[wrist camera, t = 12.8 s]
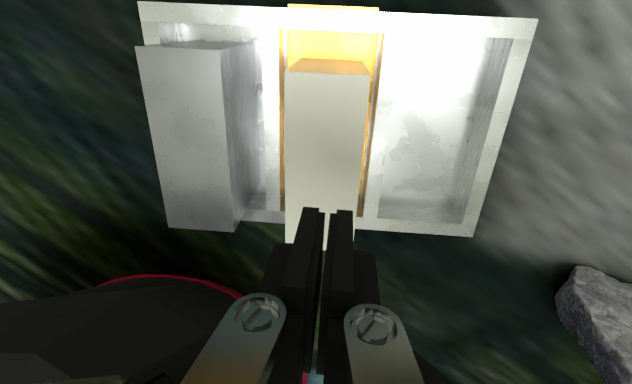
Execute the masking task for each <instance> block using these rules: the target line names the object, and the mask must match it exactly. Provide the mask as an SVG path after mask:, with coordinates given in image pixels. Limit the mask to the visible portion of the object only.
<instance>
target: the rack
mask: <svg viewBox="0 0 632 384" xmlns="http://www.w3.org/2000/svg"><path fill="white" fill-rule="evenodd" d="M137 3H138V9H139V15H140V20H141V26H142V32H143V38H144V43H145V45H141V46H135V51H136V56H137V61H138V67H139V72H140V78H141V83H142V88H143V94H144V99H145V104H146V110H147V115H148V120H149V126H150V131H151V136H152V142H153V147H154V153H155V158H156V163H157V169H158V174H159V179H160V185H161V190H162V195H163V201H164V206H165V212H166V217H167V222H168V227H170V228H183V229H197V230H210V231H224V232H235V230H236V228H237V226H238V224H239V222H240V220H243V221H256V222H270V223H284V224H285V86H284V71H285V70H287V69H288V68H289V67H290V66H292V65H293V64H294V63H295V62H297V61H298V60H299V59H300V58H310V59H332V60H354V61H363V63H364V64H365V66H366V68H367V69H368V71H369V73H370V75H371V80H370V89H369V99H368V108H367V118H366V127H365V137H364V146H363V156H362V165H361V175H360V184H359V194H358V203H357V213H356V222H355V229H367V230H381V231H394V232H408V233H422V234H436V235H450V236H463V237H473V234H474V231H475V228H476V224H477V221H478V218H479V215H480V211H481V208H482V205H483V201H484V198H485V195H486V191H487V188H488V185H489V182H490V178H491V175H492V172H493V168H494V165H495V162H496V158H497V155H498V152H499V149H500V145H501V142H502V139H503V135H504V132H505V129H506V125H507V122H508V119H509V116H510V112H511V109H512V106H513V102H514V99H515V96H516V92H517V89H518V86H519V83H520V79H521V76H522V73H523V69H524V66H525V63H526V59H527V56H528V53H529V50H530V46H531V43H532V40H533V36H534V33H535V30H536V26H537V23H538V20H539V19H532V18H509V17H486V16H463V15H441V14H418V13H395V12H378V10H379V8H373V7H350V6H327V5H304V4H288V8H282V7H259V6H236V5H214V4H191V3H168V2H146V1H137Z"/></svg>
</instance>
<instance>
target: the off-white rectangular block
mask: <svg viewBox="0 0 632 384" xmlns="http://www.w3.org/2000/svg"><path fill="white" fill-rule="evenodd" d="M370 80H371V75H370V73H369V71H368V69H367V68H366V66H365V64H364V63H363V61H354V60H332V59H310V58H300V59H299V60H298V61H297V62H295V63H294V64H293V65H292V66H290V67H289V68H288V69H287V70H285V71H284V86H285V243H293V242H294V239H295V235H296V231H297V228H298V224H299V220H300V217H301V213H302V209H303V207H314V208H319V212H324V213H325V225H324V241H323V250H326V247H327V237H328V228H329V219H330V213H336V214H337V209H339V210H351V211H353V241H354V232H355V222H356V213H357V203H358V194H359V184H360V175H361V165H362V156H363V146H364V137H365V127H366V118H367V108H368V99H369V89H370Z"/></svg>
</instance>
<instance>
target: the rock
mask: <svg viewBox="0 0 632 384" xmlns="http://www.w3.org/2000/svg"><path fill="white" fill-rule="evenodd" d="M555 303H556V308H557V312H558V314H559V316H560V321H561V322H560V324H561V325H562V326H563V327H564V328H565V329H566V330H567V331H568V332H570V333H571V334H572V335H574V336H575V337H576V338H577V340H578V343H579V345H580V347H581V348H582V349H583V350H584V351H585V353H586V355H587V356H588V357H589V358H590V360H591V363H592V364H594V365H595V367H596V369H597V370H598V372H599V373H600V375H601V377H602V378H603V380H604V381H605V383H606V384H632V284H628V283H621V282H619V281H618V280H617V279H615V278H612V277H608V276H607V275H605V274H604V273H603V272H601V271H599V270H596V269H593V268H591V267H588V266H575V267H574V269H573V270H572V271H571V274H570V276H569V279H568V281H567V282H566V283H565V284H564V285H563V286H562V287H561V288H560V289H559V291H558V292H557V294H556V295H555Z"/></svg>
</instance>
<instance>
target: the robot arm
mask: <svg viewBox="0 0 632 384" xmlns="http://www.w3.org/2000/svg"><path fill="white" fill-rule="evenodd" d="M324 225H325V213H324V212H319V208H314V207H303V209H302V213H301V217H300V220H299V224H298V228H297V231H296V235H295V239H294V242H293V243H282V242H276V243H275V246H274V248H273V251H272V254H271V257H270V260H269V262H268V265H267V268H266V271H265V274H264V276H263V279H262V282H261V285H260V288H259V290H258V293H254V294H249V295H246V296H243V297H241V298H240V299H238V300H237V301H235V302H234V303H233V304H232V306H231V307H230V308H229V310H228V311H227V313H226V314H225V316H224V317H223V319H222V320H221V322H220V323H219V325H218V326H217V328H216V329H215V331H213V332H211V333H209V334H207V335H206V336H204V337H202V338H200V339H198V340H196V341H194V342H192V343H190V344H188V345H186V346H184V347H182V348H180V349H179V350H177V351H175V352H173V353H171V354H169V355H167V356H165V357H163V358H161V359H159V360H157V361H155V362H153V363H152V364H150V365H148V366H146V367H144V368H142V369H140V370H139V371H137V372H136V373H134V374H133V375H131V376H130V377H129V378H128V379H122V380H121V376H120V375H112V376H102V377H92V378H83V379H73V380H63V381H54V382H44V383H34V384H301V383H302V376H303V372H304V373H310V371H311V362H312V354H313V345H314V337H315V328H316V319H317V311H318V302H319V294H320V285H321V273H322V257H323V241H324ZM316 374H322V375H324V382H323V384H454V383H453V382H452V381H450V380H449V379H448V378H447V377H446V376H444V375H443V374H442V373H441V372H439V371H438V370H437V369H436V368H434V367H433V366H432V365H431V364H429V363H428V362H427V361H426V360H425V359H423V358H422V357H421V356H420V355H418V354H417V353H416V352H415V351H413V350H412V348H411V345H410V343H409V340H408V337H407V334H406V332H405V329H404V326H403V324H402V322H401V321H400V319H399V317H397V316H396V315H395V314H394V313H393V312H392V311H390V310H389V309H387V308H385V307H383V306H380V297H379V288H378V279H377V271H376V262H375V253H374V251H373V250H361V249H353V211H351V210H339V209H337V214H336V213H330V219H329V228H328V237H327V247H326V256H325V265H324V274H323V283H322V294H321V309H320V324H319V339H318V355H317V370H316Z"/></svg>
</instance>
